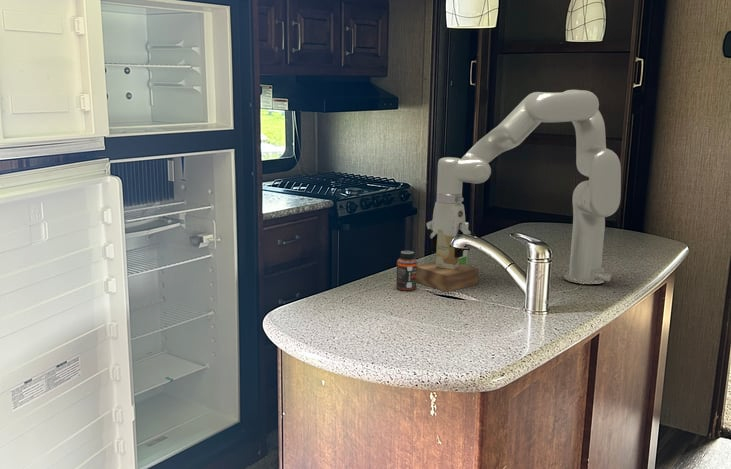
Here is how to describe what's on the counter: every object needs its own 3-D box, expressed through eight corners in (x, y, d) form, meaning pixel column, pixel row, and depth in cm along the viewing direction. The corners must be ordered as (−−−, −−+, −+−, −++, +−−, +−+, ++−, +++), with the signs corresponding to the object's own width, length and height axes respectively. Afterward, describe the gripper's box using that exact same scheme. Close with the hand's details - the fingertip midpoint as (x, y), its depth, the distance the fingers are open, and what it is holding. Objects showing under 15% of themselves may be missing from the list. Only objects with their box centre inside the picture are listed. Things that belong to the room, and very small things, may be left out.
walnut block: (477, 283, 221) (478, 268, 220) (446, 292, 212) (447, 275, 211) (444, 274, 232) (445, 259, 231) (413, 281, 223) (414, 266, 222)
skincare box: (434, 267, 220) (436, 228, 218) (440, 264, 224) (441, 226, 222) (454, 270, 217) (456, 230, 215) (459, 267, 221) (461, 228, 219)
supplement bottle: (414, 292, 212) (415, 255, 209) (394, 290, 213) (395, 253, 211) (417, 286, 218) (418, 250, 215) (397, 285, 219) (398, 249, 216)
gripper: (479, 201, 212) (476, 257, 216) (437, 193, 225) (435, 246, 229) (462, 204, 207) (459, 261, 211) (420, 196, 220) (418, 250, 224)
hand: (446, 253), depth 220 cm, fingers open, 9 cm apart
